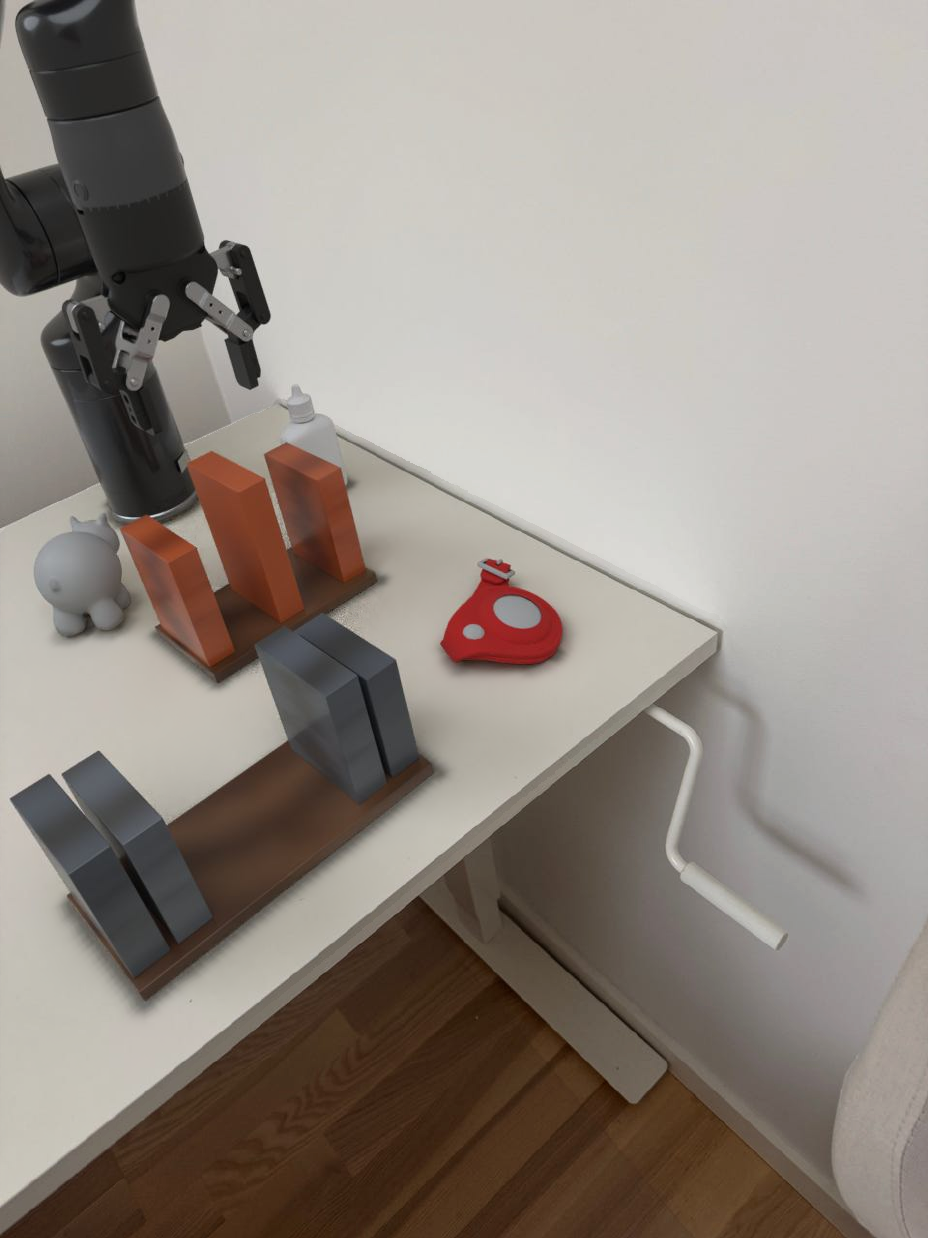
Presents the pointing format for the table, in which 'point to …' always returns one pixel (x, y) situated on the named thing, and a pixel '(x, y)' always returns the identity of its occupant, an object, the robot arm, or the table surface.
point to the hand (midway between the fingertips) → (201, 408)
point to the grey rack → (233, 810)
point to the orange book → (246, 534)
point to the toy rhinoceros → (82, 576)
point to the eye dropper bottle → (311, 430)
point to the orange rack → (223, 620)
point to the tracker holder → (502, 622)
